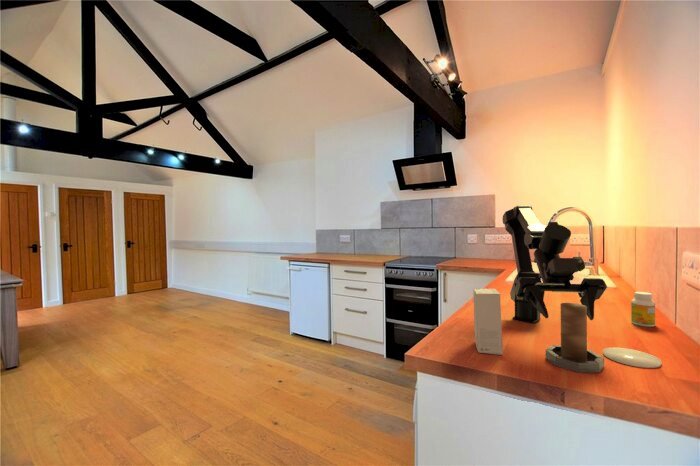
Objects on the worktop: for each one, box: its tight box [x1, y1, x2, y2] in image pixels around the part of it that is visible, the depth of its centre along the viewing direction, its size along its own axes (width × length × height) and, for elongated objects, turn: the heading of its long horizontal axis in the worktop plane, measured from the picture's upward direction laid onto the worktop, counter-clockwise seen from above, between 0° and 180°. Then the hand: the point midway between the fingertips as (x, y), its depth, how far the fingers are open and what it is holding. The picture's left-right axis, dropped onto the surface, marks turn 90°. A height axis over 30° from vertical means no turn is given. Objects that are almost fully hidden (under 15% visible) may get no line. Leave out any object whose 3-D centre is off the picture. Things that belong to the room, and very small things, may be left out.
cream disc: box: [602, 346, 662, 369], centre depth 72 cm, size 10×10×1 cm
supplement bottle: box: [630, 291, 656, 328], centre depth 96 cm, size 5×5×10 cm
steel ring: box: [545, 344, 605, 374], centre depth 70 cm, size 10×10×2 cm
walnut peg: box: [560, 302, 588, 361], centre depth 70 cm, size 5×5×13 cm
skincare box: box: [472, 288, 504, 356], centre depth 79 cm, size 8×6×15 cm
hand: (569, 318), depth 72 cm, fingers open, 9 cm apart
